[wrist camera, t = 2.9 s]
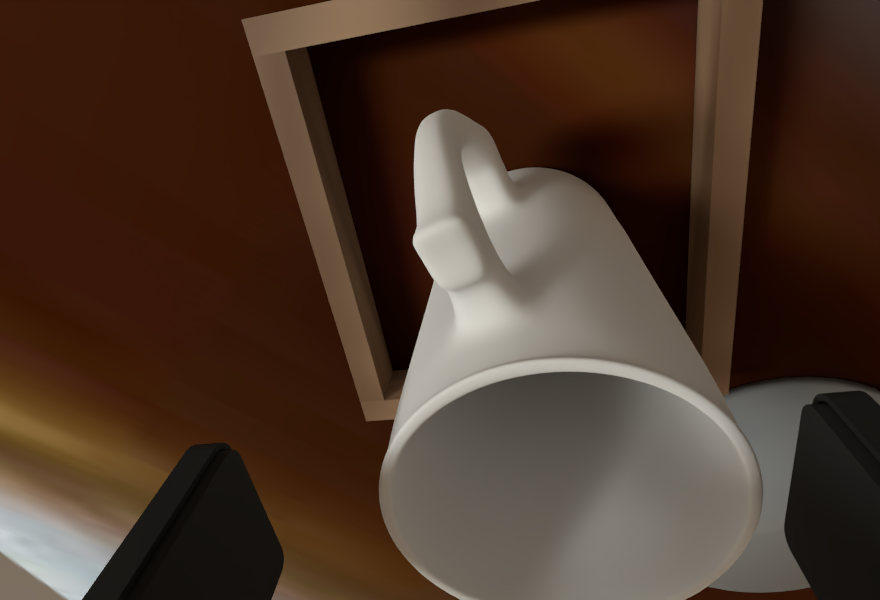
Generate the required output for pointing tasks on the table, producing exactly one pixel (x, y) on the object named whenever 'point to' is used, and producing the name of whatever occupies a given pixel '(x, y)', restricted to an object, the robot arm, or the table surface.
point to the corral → (411, 3)
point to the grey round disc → (774, 474)
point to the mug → (553, 399)
